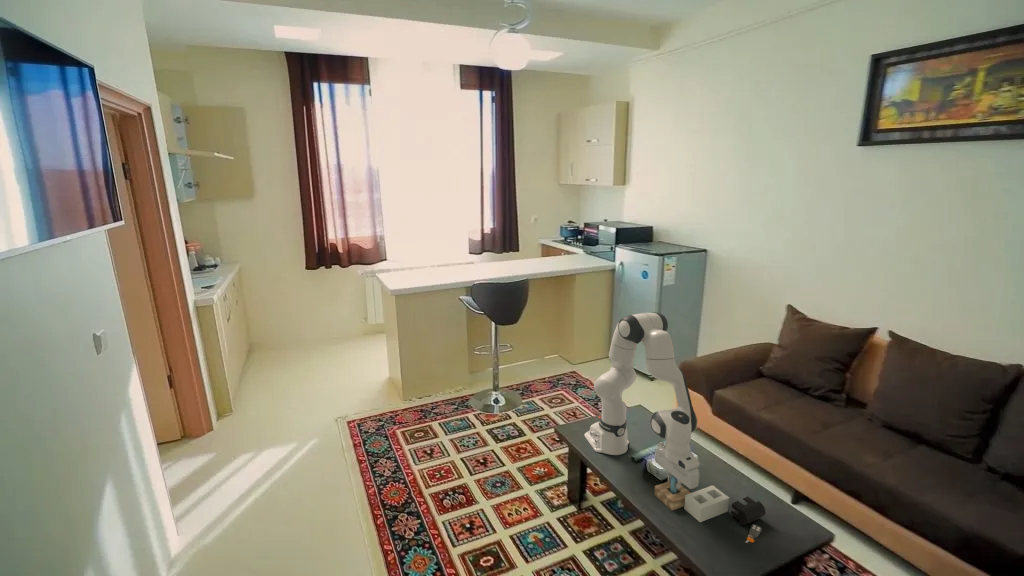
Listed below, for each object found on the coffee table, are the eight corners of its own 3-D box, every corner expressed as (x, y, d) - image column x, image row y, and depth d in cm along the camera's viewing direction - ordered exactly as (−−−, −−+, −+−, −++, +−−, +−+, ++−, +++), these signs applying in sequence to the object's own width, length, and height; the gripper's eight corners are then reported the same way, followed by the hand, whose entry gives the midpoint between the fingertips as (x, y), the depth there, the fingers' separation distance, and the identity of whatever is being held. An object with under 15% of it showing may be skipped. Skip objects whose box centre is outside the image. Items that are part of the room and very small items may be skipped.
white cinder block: (684, 508, 177) (685, 495, 176) (711, 498, 183) (712, 485, 181) (700, 522, 170) (701, 508, 169) (727, 511, 176) (729, 497, 174)
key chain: (751, 525, 169) (751, 522, 169) (762, 530, 167) (762, 527, 166) (740, 546, 160) (740, 542, 159) (752, 551, 157) (752, 548, 157)
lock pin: (668, 497, 183) (670, 475, 181) (673, 496, 184) (674, 474, 182) (672, 501, 181) (674, 479, 178) (677, 500, 182) (679, 477, 179)
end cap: (745, 530, 166) (748, 514, 165) (729, 517, 172) (731, 502, 171) (764, 521, 170) (766, 505, 169) (747, 509, 177) (749, 494, 175)
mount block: (654, 494, 185) (654, 486, 184) (673, 488, 189) (674, 479, 188) (672, 510, 176) (672, 501, 175) (691, 503, 180) (692, 494, 179)
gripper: (652, 441, 186) (649, 471, 189) (690, 469, 167) (687, 502, 171) (664, 437, 188) (661, 467, 191) (703, 465, 170) (699, 497, 173)
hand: (674, 484), depth 181 cm, fingers closed on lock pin, 2 cm apart
